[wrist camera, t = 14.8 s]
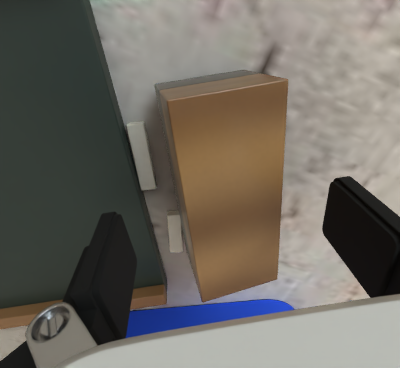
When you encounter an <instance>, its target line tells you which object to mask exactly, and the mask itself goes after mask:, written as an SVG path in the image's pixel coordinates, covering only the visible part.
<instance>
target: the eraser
mask: <svg viewBox="0 0 400 368" xmlns="http://www.w3.org/2000/svg"><path fill="white" fill-rule="evenodd" d="M155 90H156V95H157V101H158V106H159V111H160V116H161V121H162V126H163V131H164V137H165V142H166V147H167V152H168V157H169V162H170V167H171V173H172V178H173V183H174V188H175V193H176V198H177V203H178V209H179V214H180V219H181V224H182V229H183V234H184V239H185V245H186V250H187V254H188V257H189V260H190V264H191V267H192V270H193V274H194V277H195V280H196V284H197V287H198V290H199V293H200V297H201V300H202V302H206V301H209V300H212V299H216V298H219V297H222V296H225V295H228V294H232V293H235V292H238V291H241V290H244V289H248V288H251V287H254V286H257V285H260V284H264V283H267V282H270V281H273V280H276V279H277V275H278V257H279V239H280V221H281V203H282V185H283V166H284V148H285V130H286V112H287V94H288V79H285V78H280V77H275V76H270V75H265V74H260V73H256V72H252V71H247V70H240V71H234V72H228V73H221V74H215V75H209V76H203V77H197V78H190V79H184V80H178V81H172V82H166V83H160V84H155Z"/></svg>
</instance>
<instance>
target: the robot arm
mask: <svg viewBox="0 0 400 368" xmlns="http://www.w3.org/2000/svg"><path fill="white" fill-rule="evenodd" d="M322 230H323V234H324V236H325V237H326V238H327V240H328V241H329V243H330V244H331V245H332V247H333V248H334V249H335V251H336V252H337V253H338V255H339V256H340V257H341V259H342V260H343V261H344V263H345V264H346V265H347V267H348V268H349V269H350V271H351V272H352V274H353V275H354V276H355V278H356V279H357V280H358V282H359V283H360V284H361V286H362V287H363V288H364V290H365V291H366V292H367V294H368V295H369V296H370V297H371V298H367V299H361V300H354V301H348V302H341V303H335V304H328V305H322V306H315V307H309V308H302V309H296V310H290V311H284V312H277V313H271V314H265V315H258V316H252V317H246V318H240V319H234V320H227V321H221V322H215V323H209V324H203V325H197V326H191V327H185V328H179V329H173V330H167V331H162V332H156V333H151V334H145V335H140V336H134V337H129V338H126V334H127V327H128V321H129V314H130V307H131V301H132V294H133V288H134V281H135V275H136V268H137V257H136V254H135V251H134V248H133V246H132V243H131V240H130V237H129V234H128V232H127V229H126V226H125V223H124V220H123V217H122V215H121V214H117V213H116V212H108V213H102V214H101V216H100V219H99V221H98V224H97V226H96V229H95V232H94V234H93V237H92V239H91V242H90V244H89V246H86V247H85V248H84V250H83V252H82V254H81V257H80V259H79V262H78V264H77V267H76V269H75V271H74V274H73V276H72V279H71V281H70V284H69V286H68V289H67V291H66V294H65V296H64V298H63V301H62V302H58V303H55V304H52V305H50V306H48V307H46V308H44V309H43V310H42V311H41V312H39V313H38V314H37V315H36V316H35V317H34V318H33V320H32V321H31V322H30V324H29V326H28V328H27V331H26V341H25V342H24V343H23V344H21V345H20V346H19V347H18V348H16V349H15V350H14V351H13V352H11V353H10V354H9V355H8V356H6V357H5V358H4V359H3V360H1V361H0V368H400V217H399V216H398V215H397V214H396V213H394V212H393V211H392V210H391V209H389V208H388V207H387V206H386V205H385V204H383V203H382V202H381V201H380V200H378V199H377V198H376V197H375V196H374V195H372V194H371V193H370V192H369V191H368V190H366V189H365V188H364V187H363V186H361V185H360V184H359V183H358V182H357V181H355V180H354V179H353V178H352V177H350V176H347V177H341V178H336V179H334V181H333V182H331V184H330V187H329V193H328V199H327V204H326V210H325V216H324V221H323V227H322Z"/></svg>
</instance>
